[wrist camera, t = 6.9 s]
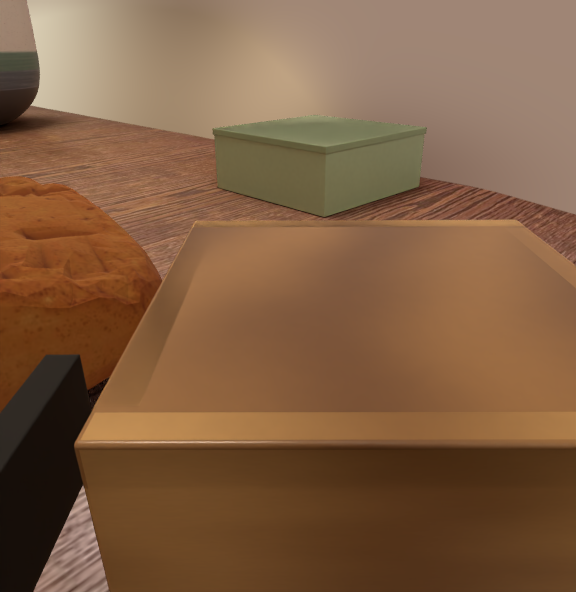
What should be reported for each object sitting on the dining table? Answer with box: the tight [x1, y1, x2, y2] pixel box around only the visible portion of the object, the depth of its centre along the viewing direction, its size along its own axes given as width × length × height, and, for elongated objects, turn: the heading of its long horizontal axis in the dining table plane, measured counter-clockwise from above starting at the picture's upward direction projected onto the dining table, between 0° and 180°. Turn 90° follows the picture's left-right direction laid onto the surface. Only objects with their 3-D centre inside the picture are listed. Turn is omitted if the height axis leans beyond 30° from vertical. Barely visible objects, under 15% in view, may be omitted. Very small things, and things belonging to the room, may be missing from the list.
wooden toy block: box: [74, 220, 576, 592], centre depth 12 cm, size 9×9×9 cm
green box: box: [213, 115, 427, 217], centre depth 53 cm, size 15×15×6 cm
